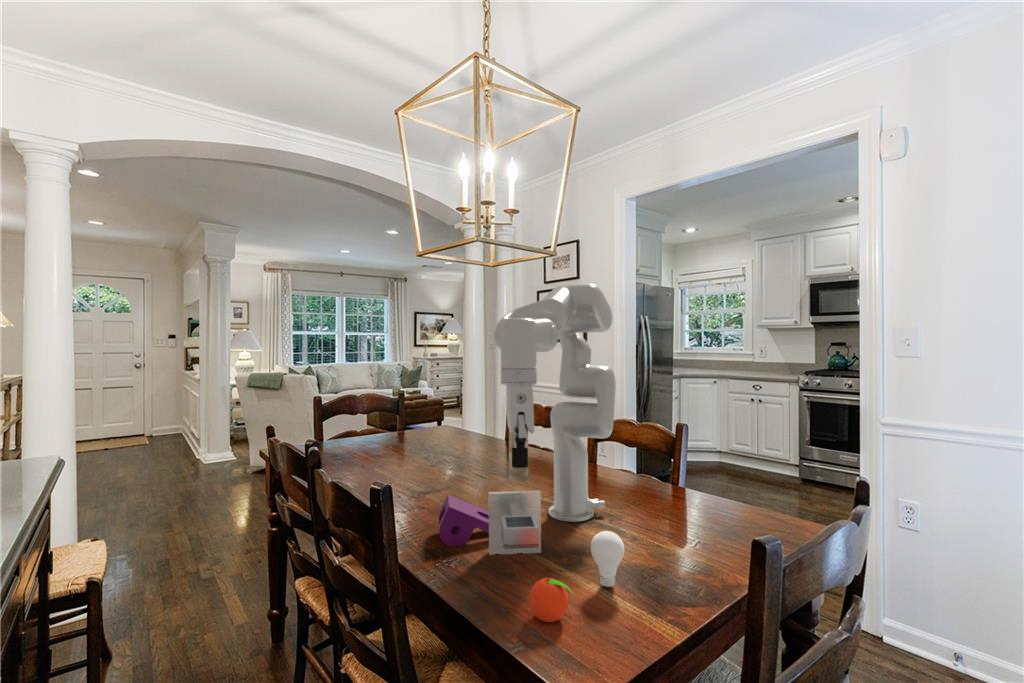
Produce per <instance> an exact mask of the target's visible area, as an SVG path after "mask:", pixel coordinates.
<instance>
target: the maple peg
mask: <svg viewBox="0 0 1024 683" xmlns="http://www.w3.org/2000/svg"><path fill="white" fill-rule="evenodd" d="M517 421H518V420H517ZM515 429H516V426H515ZM515 433H518V430H515ZM517 437H518V436H516V438H517ZM527 447H528V448H529V431H528V429H527ZM512 448H513V433H511V432H510V430H509V429H508V480H509V481H510V482H514V483H523V482H527V481H528V480H529V466H528V467H526V468H513V467H512Z"/></svg>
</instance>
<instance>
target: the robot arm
mask: <svg viewBox="0 0 1024 683" xmlns="http://www.w3.org/2000/svg"><path fill="white" fill-rule="evenodd" d="M612 323H613V313H612V308H611V305H610V304H609V302H608V299H607V298H606V296H605V295H604V293H603V291H602V289H600V287H599V286H597V285H596V284H593V283H576V284H563V285H558V286H556V287H553V289H552V290H551V291H549V292H548V293H547V295H545V297H543V298H542V299H541V300H537V301H535V302H532V303H529V304H526V305H524V306H520V307H518V308H515V309H513V310H511V311H509V312H507V313H506V314H505V315H503V317H501V318H500V320H499V321H498V322H497V323H496V326H495V328H494V336H493V338H494V341H495V342H494V343H495V345H496V346H497V348H498V349H499V350H500V385H503V386H505V388H506V390H505V391H506V399H505V400H506V420H507V428H508V431H509V430H510V432H511V433H513V448H512V467H513V468H526V467H528V468H529V446H528V447H527V429H528V432H529V433H530V434H533V433H534V432H535V411H534V409H535V408H534V407H535V406H534V391H533V385H537V381H538V380H537V379H538V378H537V374H538V373H537V370H538V369H537V353H545V352H550V351H551V350H553V349H554V348H555V347H556V345H557V344H558V341H559V343H560V347H561V360H560V361H561V362H560V372H559V382H558V383H559V384H558V386H559V392H560V393H561V394H562V396H564V397H567V398H571V399H572V398H573V399H585V400H586V399H590V400H596V401H597V402H596V403H594V402H582V401H581V402H579V401H562V402H558V403H556V404H555V405H554V406H553V407H551V408H552V409H551V410H550V415H549V416H550V417H549V418H550V425H551V426H550V427H551V432H552V439H553V442H552V443H553V505H551V506H550V507H548V515H549V516H550V517H552V519H555V520H558V521H562V522H567V523H568V522H569V523H570V522H571V523H578V522H579V523H580V522H584V521H589V520H590V519H591V518H593V517H594V515H595V514H594V509H597V508H598V509H605V508H606V503H605V500H599V499H598V498H593V499H591V498H590V497H589V455H588V450H587V447H586V445H585V443H584V441H583V440H582V438H588V439H590V438H591V439H607V438H609V437H610V436H611V434H612V432H613V430H614V429H613V428H614V421H615V406H616V405H615V403H616V390H617V389H616V388H617V387H616V385H617V384H616V382H617V381H616V376H615V372H614V370H613V369H612V368H611V367H609V366H606V365H598V364H597V365H593V364H591V362H592V349H591V346H590V345H589V342H587V340H586V339H585V338H584V337H583V336H582V335H581V333H604V332H608V330H610V328H611V326H612ZM517 420H518V421H517ZM515 426H516V429H515ZM515 430H518V433H515ZM516 436H518V437H517V438H516Z"/></svg>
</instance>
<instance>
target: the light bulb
mask: <svg viewBox="0 0 1024 683" xmlns="http://www.w3.org/2000/svg"><path fill="white" fill-rule="evenodd" d="M590 542H591V543H590V553H591V556H592V557H593V559H594V562H595V563H596V566H597V567H598V573H599V575H600V577H599V583H600V585H602V586H603V587H605V588H611V587H614V586H615V584H616V577H615V576H616V574H617V569H618V567H619V565H620V564H621V562H622V560H623V558H624V555H625V550H626V549H625V544H624V541H623V540H622V538H621V537H620V536H619V535H618V534H617V533H615V532H613V531H611V530H603V531H599V532H598V533H597V534H595V535H594V537H593V538H592V540H591V541H590Z"/></svg>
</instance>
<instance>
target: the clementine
mask: <svg viewBox="0 0 1024 683" xmlns="http://www.w3.org/2000/svg"><path fill="white" fill-rule="evenodd" d="M566 589H567V590H568V591H569V592H570V593H571V594H572V597H573V598H575V597H574V593H573V591H572V590H571V588H570V587H569V586H568V585H566V584H565V583H564V582H562V581H561V580H557V579H556V578H553V577H544V578H543V577H542V578H541V579H539V580H538V581H536V582H535V583H534V584H533V585H532V587H531V589H530V593H529V599H528V601H529V606H530V609H531V611H532V613H533V615H534V616H535V617H536V618H537V619H539V620H540V621H543V622H545V623H553V622H557V621H558V620H561V619H562V618H563V616H564V615H565V614H566V612H567V610H568V607H569V595H568V592H567V590H566Z"/></svg>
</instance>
